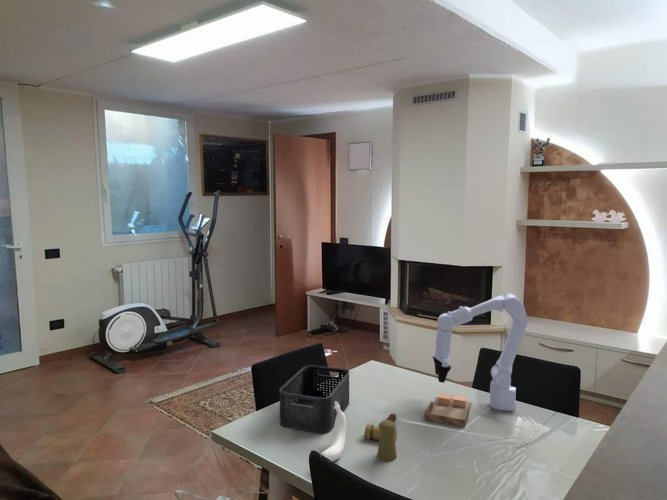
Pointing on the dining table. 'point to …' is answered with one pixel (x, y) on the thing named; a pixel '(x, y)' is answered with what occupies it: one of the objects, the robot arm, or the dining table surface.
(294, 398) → the storage bin
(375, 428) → the gavel
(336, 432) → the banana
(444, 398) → the tile outer
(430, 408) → the wooden tray
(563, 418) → the dining table surface
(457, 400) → the tile inner
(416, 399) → the dining table surface
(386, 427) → the cork
